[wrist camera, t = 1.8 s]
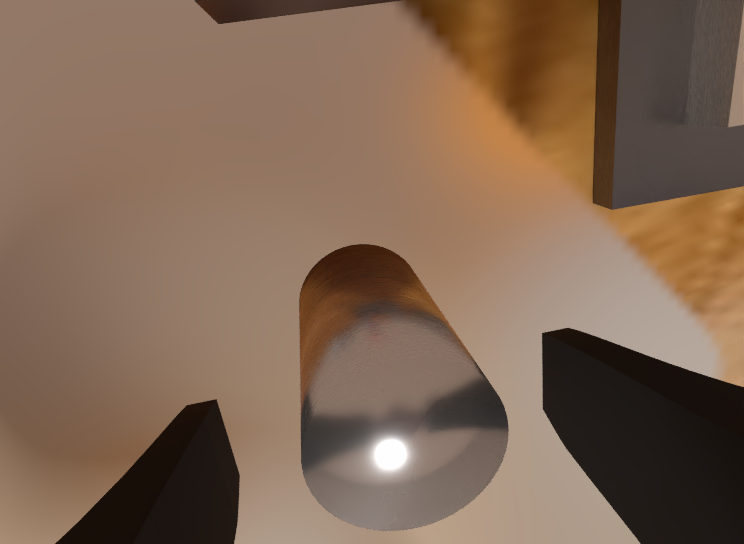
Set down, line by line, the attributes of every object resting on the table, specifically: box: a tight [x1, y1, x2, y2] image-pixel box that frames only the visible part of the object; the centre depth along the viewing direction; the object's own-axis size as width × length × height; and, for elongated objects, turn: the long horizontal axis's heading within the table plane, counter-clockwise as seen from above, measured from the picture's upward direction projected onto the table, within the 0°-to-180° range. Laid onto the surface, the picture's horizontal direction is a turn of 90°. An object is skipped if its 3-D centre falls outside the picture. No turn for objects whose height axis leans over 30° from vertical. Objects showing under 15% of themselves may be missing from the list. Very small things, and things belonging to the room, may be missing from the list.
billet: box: [299, 244, 508, 531], centre depth 12 cm, size 4×4×7 cm
